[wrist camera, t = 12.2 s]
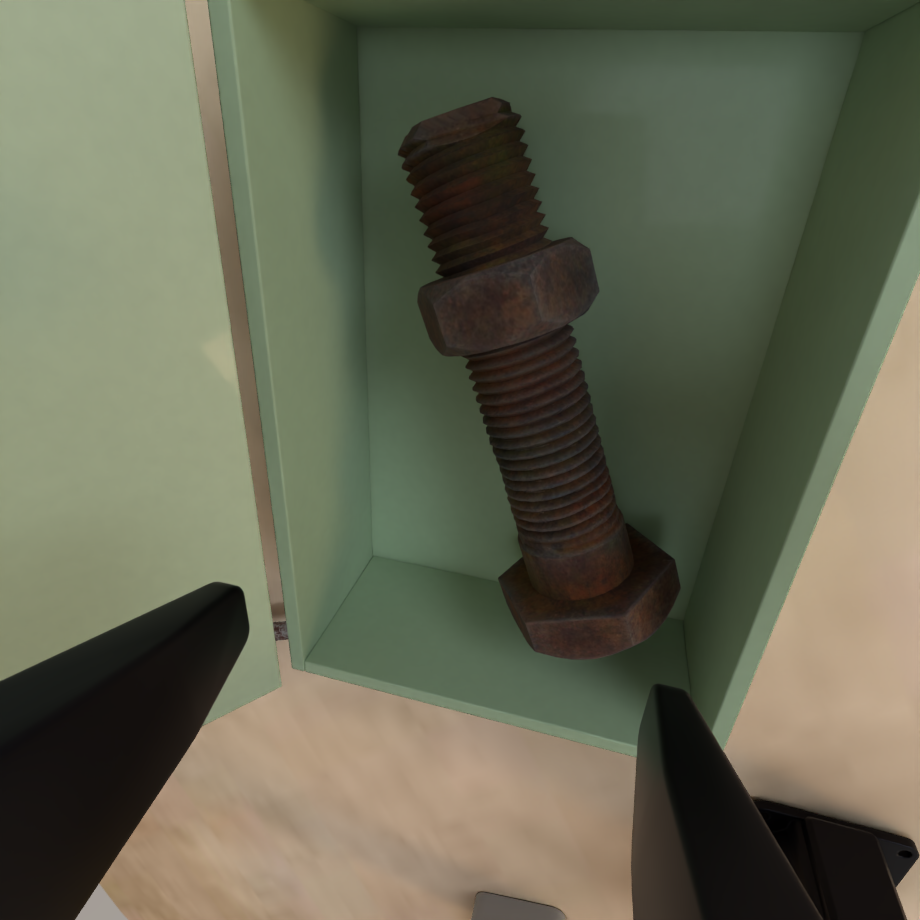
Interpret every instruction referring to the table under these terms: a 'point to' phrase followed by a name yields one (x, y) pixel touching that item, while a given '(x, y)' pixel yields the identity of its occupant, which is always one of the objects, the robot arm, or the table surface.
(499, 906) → the power adapter
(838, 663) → the table surface
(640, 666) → the carton
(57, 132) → the flap
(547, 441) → the bolt
